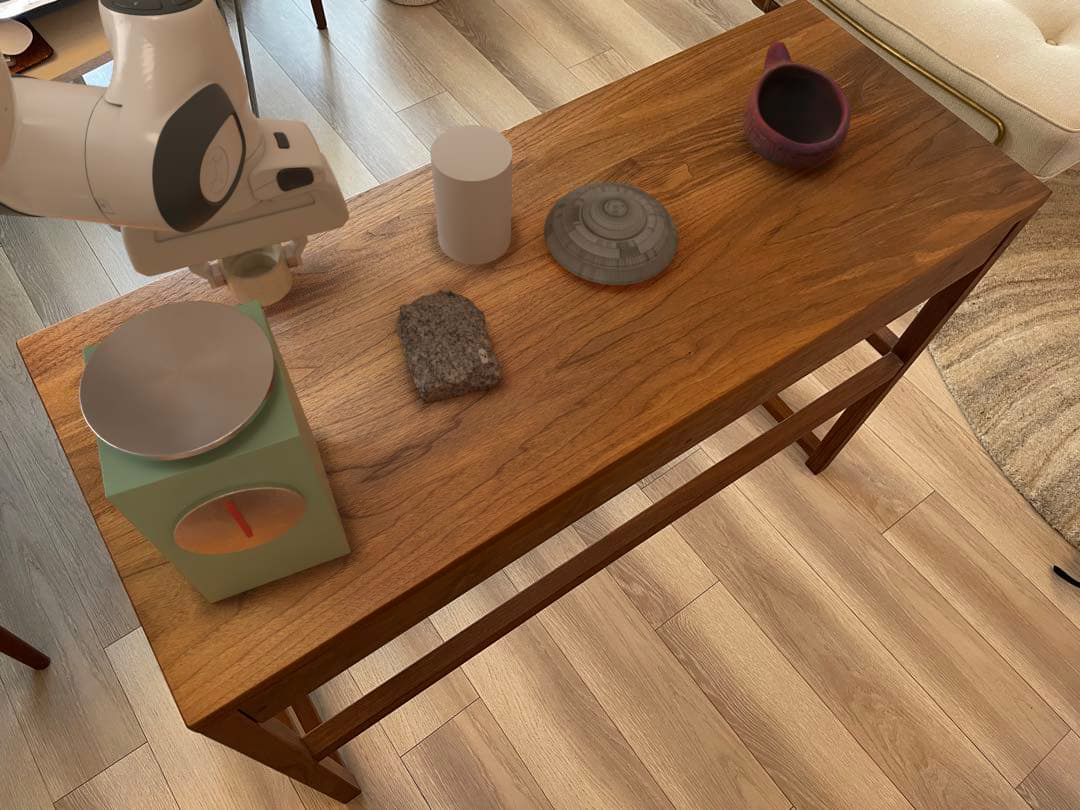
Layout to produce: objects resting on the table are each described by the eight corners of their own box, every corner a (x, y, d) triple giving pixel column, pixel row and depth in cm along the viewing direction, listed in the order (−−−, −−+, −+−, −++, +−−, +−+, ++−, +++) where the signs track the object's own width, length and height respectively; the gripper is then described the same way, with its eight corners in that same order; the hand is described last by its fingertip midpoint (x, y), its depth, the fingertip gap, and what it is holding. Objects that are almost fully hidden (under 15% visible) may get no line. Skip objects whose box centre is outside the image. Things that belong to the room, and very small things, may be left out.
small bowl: (238, 317, 80) (225, 288, 77) (224, 272, 83) (212, 242, 80) (299, 300, 82) (290, 271, 78) (284, 256, 85) (275, 226, 81)
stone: (503, 389, 79) (503, 368, 76) (415, 409, 78) (411, 389, 74) (474, 298, 84) (473, 275, 81) (392, 315, 83) (388, 293, 80)
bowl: (857, 157, 99) (884, 103, 92) (787, 200, 95) (809, 146, 88) (764, 89, 105) (783, 33, 99) (694, 125, 101) (708, 70, 94)
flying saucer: (673, 301, 86) (683, 267, 81) (535, 284, 86) (537, 249, 81) (677, 202, 94) (687, 166, 89) (551, 187, 94) (554, 150, 89)
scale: (212, 612, 66) (92, 494, 47) (184, 483, 72) (68, 330, 52) (353, 560, 69) (296, 429, 49) (315, 440, 75) (251, 281, 55)
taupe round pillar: (522, 225, 91) (526, 140, 80) (490, 274, 87) (489, 191, 76) (459, 201, 92) (454, 115, 82) (424, 248, 88) (415, 164, 78)
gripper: (96, 221, 65) (156, 324, 77) (341, 162, 70) (362, 268, 82) (86, 170, 68) (146, 277, 80) (322, 118, 73) (345, 226, 85)
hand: (257, 272), depth 81 cm, fingers closed on small bowl, 6 cm apart
